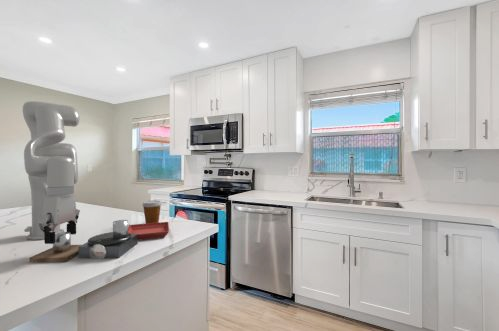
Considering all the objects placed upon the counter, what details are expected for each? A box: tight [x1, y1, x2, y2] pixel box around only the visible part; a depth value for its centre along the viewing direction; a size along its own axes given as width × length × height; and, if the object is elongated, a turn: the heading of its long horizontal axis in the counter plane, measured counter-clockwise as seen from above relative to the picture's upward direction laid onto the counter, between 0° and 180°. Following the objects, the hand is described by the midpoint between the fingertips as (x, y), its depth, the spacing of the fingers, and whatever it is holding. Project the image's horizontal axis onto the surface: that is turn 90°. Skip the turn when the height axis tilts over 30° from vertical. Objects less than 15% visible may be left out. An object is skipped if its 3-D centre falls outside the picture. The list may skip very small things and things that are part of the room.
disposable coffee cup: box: [142, 200, 162, 224], centre depth 125 cm, size 10×10×12 cm
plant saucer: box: [128, 221, 170, 241], centre depth 108 cm, size 18×18×3 cm
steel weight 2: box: [112, 219, 129, 239], centre depth 88 cm, size 5×5×6 cm
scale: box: [77, 231, 139, 260], centre depth 87 cm, size 14×15×6 cm
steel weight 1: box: [52, 231, 72, 253], centre depth 84 cm, size 5×5×6 cm
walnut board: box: [28, 244, 82, 263], centre depth 84 cm, size 12×12×2 cm
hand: (61, 238), depth 84 cm, fingers open, 9 cm apart
